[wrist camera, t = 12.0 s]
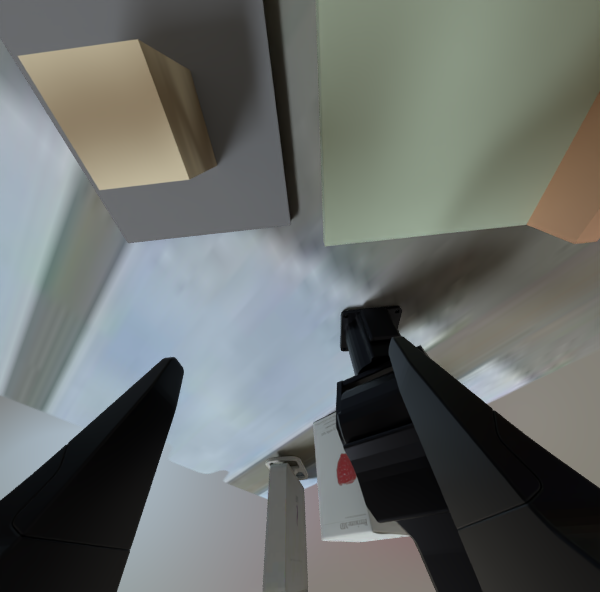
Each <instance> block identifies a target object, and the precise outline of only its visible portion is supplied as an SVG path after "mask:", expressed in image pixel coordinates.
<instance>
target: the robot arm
mask: <svg viewBox="0 0 600 592" xmlns="http://www.w3.org/2000/svg"><path fill="white" fill-rule="evenodd" d="M396 310H397V311H396ZM401 313H402V309H401V308H400V306H389V307H379V308H369V309H358V310H348V311H343V312H342V313H341V336H340V348H341V351H349V354H350V358H351V361H352V365H353V369H354V373H355V376H353V377H351V378H349V379H346V380H344V381H340V382H337V400H336V429H337V431H338V434H339V437H340V440H341V442H342V444H343V448H344V451H345V452H346V454H347V456H348V458H349V460H350V461H351V464H352V466H353V468H354V471H355V473H356V476H357V479H358V482H359V485H360V488H361V491H362V494H363V498H364V501H365V504H366V506H367V508H368V509H369V511H370V512H371V514H372V515H373V516H374V518H375V519H376V521H377V522H378V523H386V522H392V521H395V522H396V523H397V524H398V525H399V526H400V527H401V528H402V529H403V530H404V531H405V532H406V533H407V534H408V535H409V536H410V537H411V538H412V539H413V540H414V542H415V544H416V546H417V548H418V551H419V553H420V555H421V558H422V560H423V562H424V564H425V567H426V569H427V571H428V574H429V576H430V578H431V581H432V583H433V585H434V588H435V590H436V592H600V488H599V487H597V486H596V485H595V484H593V483H592V482H590V481H589V480H588V479H586V478H585V477H583V476H582V475H581V474H579V473H578V472H576V471H575V470H573V469H572V468H571V467H569V466H568V465H566V464H565V463H563V462H562V461H561V460H559V459H558V458H556V457H555V456H554V455H552V454H551V453H550V452H548V451H547V450H546V449H544V448H543V447H541V446H540V445H539V444H537V443H536V442H535V441H533V440H532V439H531V438H529V437H528V436H526V435H525V434H524V433H523V432H521V431H520V430H519V429H518V428H516V427H515V426H514V425H512V424H511V423H510V422H509V421H507V420H506V419H505V418H503V417H502V416H501V415H500V414H498V413H497V412H496V411H493V409H492V408H491V407H490V406H489V405H487V404H486V403H485V402H484V401H482V400H481V399H480V398H479V397H477V396H476V395H475V394H474V393H472V392H471V391H470V390H469V389H467V388H466V387H465V386H464V385H463V384H461V383H460V382H459V381H458V380H456V379H455V378H454V377H453V376H451V375H450V374H449V373H448V372H446V371H445V370H444V369H443V368H441V367H440V366H439V365H438V364H437V363H435V362H434V361H433V360H432V359H430V357H429V356H428V355H427V353H426V352H425V351H424V349H423V348H422V347H421V345H420V346H418V347H415V346H414V345H413V344H412V343H410V342H409V341H408V340H407V339H406V338H404V337H402V336H401V335H400V333H399V331H398V325H399V321H400V317H401ZM345 315H347V316H345ZM183 375H184V370H183V367H182V366H181V364H180V363H179V362H178V360H177V359H176V358H175V357H169V358H164V359H162V360H161V361H160V362H159V363H158V364H157V365H155V366H154V367H153V368H152V369H151V370H150V371H149V372H148V373H146V374H145V375H144V376H143V377H142V378H141V379H140V380H139V381H137V382H136V383H135V384H134V385H133V386H132V387H131V388H129V389H128V390H127V391H126V392H125V393H124V394H123V395H122V396H120V397H119V398H118V399H117V400H116V401H115V402H114V403H113V404H111V405H110V406H109V407H108V408H107V409H106V410H105V411H104V412H102V413H101V414H100V415H99V416H98V417H97V418H96V419H95V420H93V421H92V422H91V423H90V424H89V425H88V426H87V427H86V428H84V429H83V430H82V431H81V432H80V433H79V434H78V435H77V436H75V437H74V438H73V439H72V440H71V441H70V442H69V443H68V444H67V445H65V446H64V447H63V448H62V449H61V450H60V451H58V452H57V453H56V454H55V455H54V456H53V457H52V458H50V459H49V460H48V461H47V462H46V463H45V464H44V465H42V466H41V467H40V468H39V469H38V470H37V471H35V472H34V473H33V474H32V475H31V476H30V477H28V478H27V479H26V480H25V481H23V482H22V483H21V484H20V485H19V486H18V487H16V488H15V489H14V490H13V491H11V493H9V494H8V495H7V496H5V497H4V498H3V499H2V500H0V592H117V589H118V586H119V583H120V580H121V577H122V574H123V571H124V568H125V565H126V562H127V559H128V556H129V553H130V549H131V546H132V543H133V540H134V537H135V534H136V531H137V527H138V524H139V521H140V518H141V515H142V512H143V509H144V506H145V503H146V499H147V497H148V494H149V491H150V488H151V484H152V481H153V478H154V475H155V472H156V469H157V466H158V463H159V460H160V457H161V454H162V451H163V447H164V444H165V441H166V438H167V435H168V432H169V429H170V426H171V423H172V420H173V417H174V414H175V410H176V406H177V402H178V398H179V393H180V388H181V384H182V379H183Z"/></svg>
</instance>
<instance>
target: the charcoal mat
mask: <svg viewBox="0 0 600 592" xmlns="http://www.w3.org/2000/svg"><path fill="white" fill-rule="evenodd" d="M0 38H1V40H2V42H3V43H4V45H5V46H6V48H7V50H8V51H9V53H10V54H11V56H12V58H13V59H14V61H15V62H16V64H17V66H18V67H19V69H20V70H21V72H22V74H23V75H24V77H25V79H26V80H27V82H28V83H29V85H30V87H31V88H32V90H33V91H34V93H35V95H36V96H37V98H38V99H39V101H40V103H41V104H42V106H43V107H44V109H45V111H46V112H47V114H48V115H49V117H50V119H51V120H52V122H53V123H54V125H55V127H56V128H57V130H58V131H59V133H60V135H61V136H62V138H63V140H64V141H65V143H66V144H67V146H68V148H69V149H70V151H71V152H72V154H73V156H74V157H75V159H76V160H77V162H78V164H79V165H80V167H81V168H82V170H83V172H84V173H85V175H86V176H87V178H88V180H89V181H90V183H91V184H92V186H93V188H94V189H95V191H96V193H97V194H98V196H99V197H100V199H101V201H102V202H103V204H104V205H105V207H106V209H107V210H108V212H109V213H110V215H111V217H112V218H113V220H114V221H115V223H116V225H117V226H118V228H119V229H120V231H121V233H122V234H123V236H124V237H125V239H126V241H127V242H128V243H134V242H143V241H152V240H161V239H170V238H179V237H188V236H197V235H206V234H215V233H225V232H234V231H243V230H252V229H261V228H270V227H279V226H288V225H291V220H290V211H289V203H288V195H287V187H286V179H285V171H284V163H283V155H282V147H281V139H280V131H279V123H278V115H277V107H276V99H275V91H274V82H273V74H272V66H271V58H270V50H269V42H268V34H267V26H266V18H265V10H264V2H263V0H0ZM136 39H138V40H140V41H142V42H143V43H145V44H147V45H148V46H150V47H152V48H153V49H155V50H157V51H159V52H160V53H162V54H164V55H165V56H167V57H169V58H170V59H172V60H174V61H175V62H177V63H179V64H180V65H182V66H184V67H186V68H187V69H189V70H190V72H191V75H192V79H193V82H194V86H195V89H196V93H197V96H198V100H199V103H200V107H201V110H202V114H203V117H204V121H205V124H206V128H207V131H208V135H209V138H210V142H211V145H212V149H213V152H214V156H215V159H216V163H217V166H216V167H214V168H212V169H210V170H208V171H206V172H204V173H202V174H200V175H198V176H196V177H194V178H192V179H190V180H182V181H173V182H165V183H157V184H148V185H140V186H131V187H123V188H114V189H106V190H99V189H98V187H97V185H96V184H95V182H94V180H93V179H92V177H91V175H90V174H89V172H88V171H87V169H86V167H85V166H84V164H83V162H82V161H81V159H80V157H79V156H78V154H77V153H76V151H75V149H74V148H73V146H72V144H71V143H70V141H69V139H68V138H67V136H66V135H65V133H64V131H63V130H62V128H61V126H60V125H59V123H58V121H57V120H56V118H55V117H54V115H53V113H52V112H51V110H50V108H49V107H48V105H47V103H46V102H45V100H44V99H43V97H42V95H41V94H40V92H39V90H38V89H37V87H36V85H35V84H34V82H33V81H32V79H31V77H30V76H29V74H28V72H27V71H26V69H25V67H24V66H23V64H22V63H21V61H20V59H19V58H18V56H21V55H28V54H35V53H42V52H50V51H57V50H64V49H71V48H78V47H85V46H93V45H100V44H107V43H114V42H121V41H129V40H136Z"/></svg>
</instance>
